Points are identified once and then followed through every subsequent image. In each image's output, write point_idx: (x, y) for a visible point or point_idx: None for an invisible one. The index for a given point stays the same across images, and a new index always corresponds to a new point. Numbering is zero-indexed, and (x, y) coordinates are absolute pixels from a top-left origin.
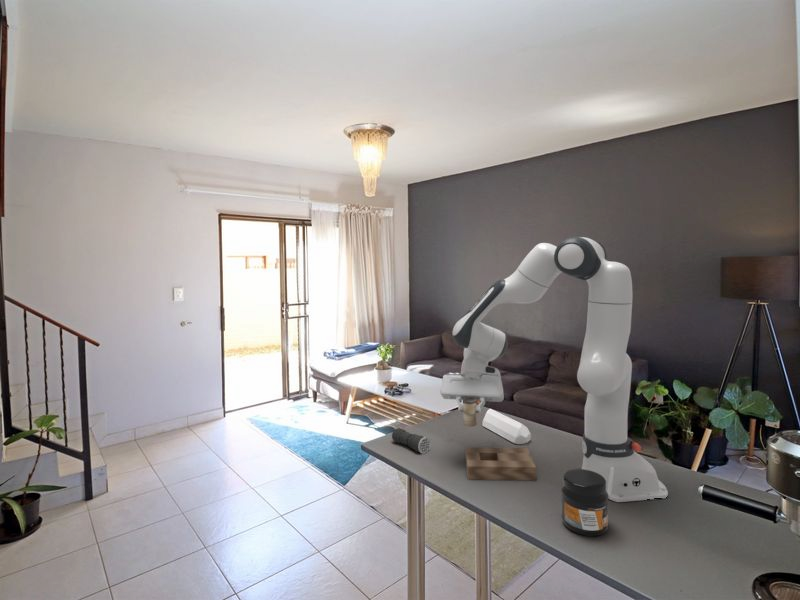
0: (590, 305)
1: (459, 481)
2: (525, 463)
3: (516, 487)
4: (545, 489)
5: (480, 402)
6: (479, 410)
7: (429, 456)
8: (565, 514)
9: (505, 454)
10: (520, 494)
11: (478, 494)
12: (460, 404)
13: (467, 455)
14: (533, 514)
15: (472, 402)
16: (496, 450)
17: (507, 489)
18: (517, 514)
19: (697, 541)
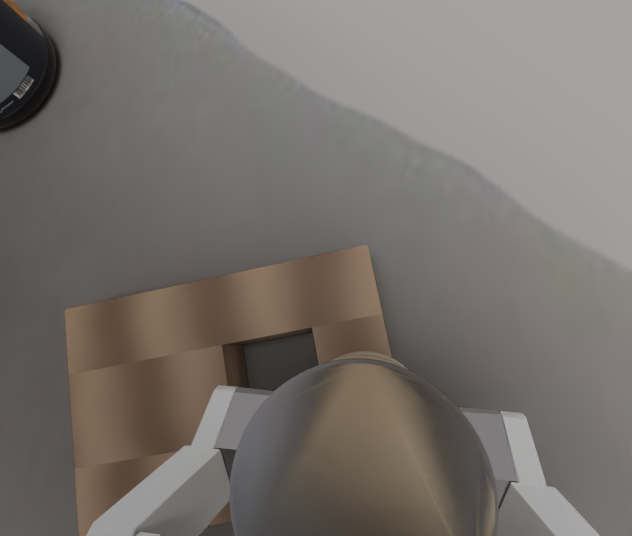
0: None
1: (401, 230)
2: (103, 339)
3: (177, 240)
4: (79, 252)
5: (170, 491)
6: (222, 387)
7: (626, 469)
8: (26, 18)
9: (190, 428)
10: (165, 193)
11: (312, 152)
12: (514, 477)
13: None
14: (134, 86)
15: (285, 384)
16: None
17: (209, 216)
18: (180, 71)
19: None
